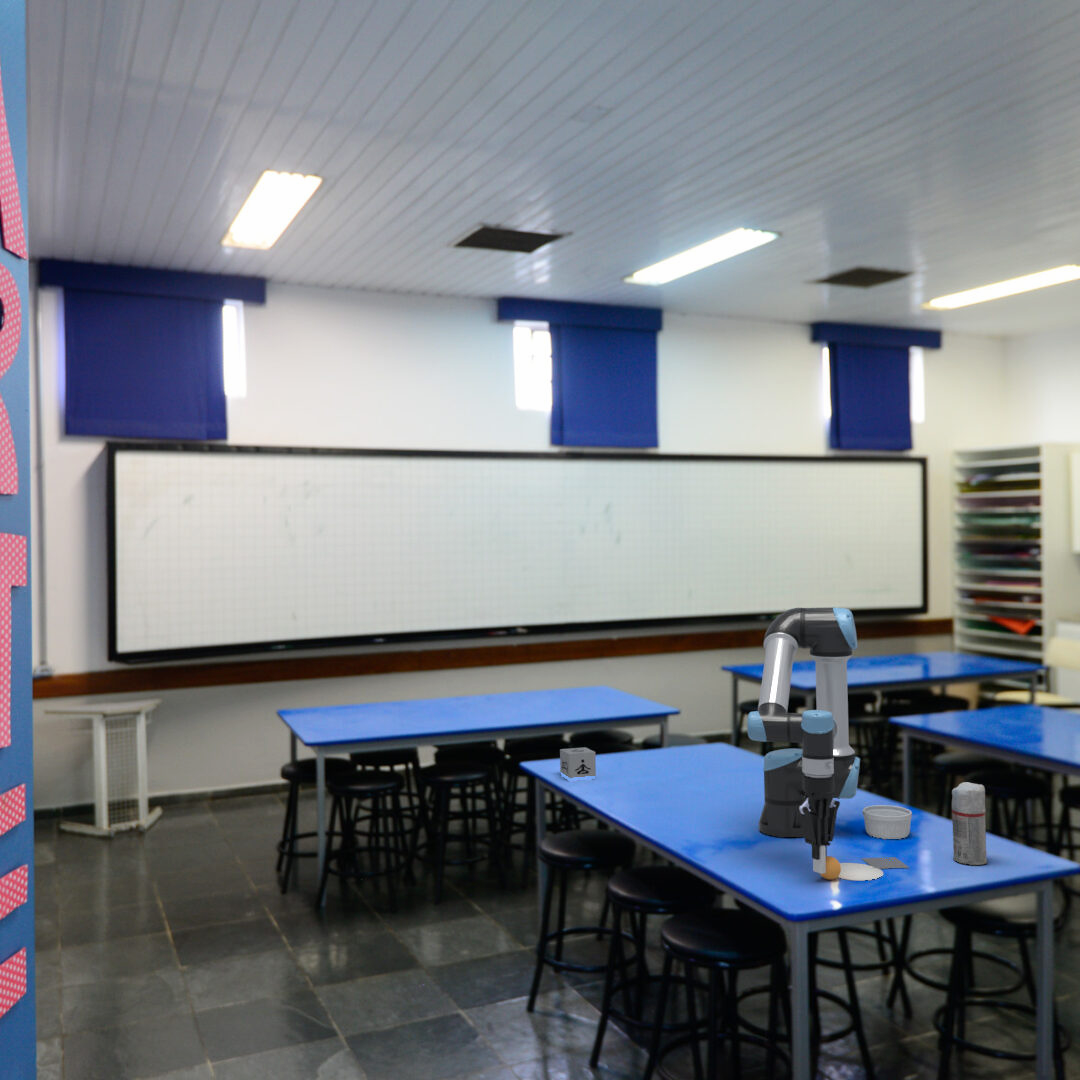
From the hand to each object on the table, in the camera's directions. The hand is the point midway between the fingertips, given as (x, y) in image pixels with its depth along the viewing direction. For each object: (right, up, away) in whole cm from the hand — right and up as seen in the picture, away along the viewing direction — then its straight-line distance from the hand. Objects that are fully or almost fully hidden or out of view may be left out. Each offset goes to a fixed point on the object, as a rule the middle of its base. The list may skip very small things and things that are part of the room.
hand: (819, 871), depth 247 cm
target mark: (+11, -2, +7) cm, 13 cm away
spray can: (+43, -2, +14) cm, 45 cm away
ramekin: (+30, -3, +41) cm, 51 cm away
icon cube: (-54, -6, +121) cm, 133 cm away
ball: (+3, 0, +2) cm, 3 cm away
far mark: (+21, -2, +14) cm, 25 cm away
